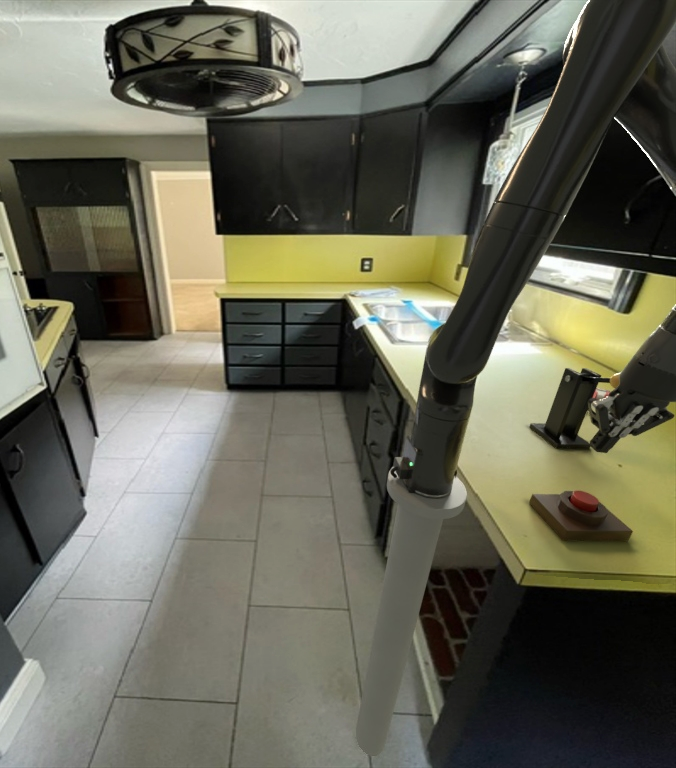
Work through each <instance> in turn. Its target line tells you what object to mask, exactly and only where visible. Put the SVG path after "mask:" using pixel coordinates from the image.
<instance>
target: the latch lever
mask: <svg viewBox="0 0 676 768" xmlns="http://www.w3.org/2000/svg"><path fill="white" fill-rule="evenodd" d="M579 373H580V374H582V373H581V372H579ZM620 373H621V372H617V373H614V374H613V375H611V377H601V378H598V377H590V374H582V375H584V376H583V379H582V381H581V384H590V382H599V383H602V384H609V385H610V386H611V387H612V388H613V389H615V388H616V387H618V385H619V383H620V381H619V375H620Z"/></svg>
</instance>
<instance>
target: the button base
mask: <svg viewBox="0 0 676 768" xmlns="http://www.w3.org/2000/svg"><path fill="white" fill-rule="evenodd" d="M574 491H575V490H564V491H562V492H561V493H532V494H531V497H530V499H529V502H528V503H529V505H530V506H531V507H532V508H533V509H534V510H535V512H536V513H538V515H540V517H541V518H542V519H543V520H544V521H545V522H546V523H547V525H548V526H550V528H551V529H552V530H553V531H554V532H555V533H556V534H557V535H558V536H559V537H560V539H561V540H562V541H599V542H600V541H607V542H609V541H611V542H615V541H618V542H620V541H621V542H623V541H624V542H625V541H626V542H628V541H629V540H630V538H631V536H632V534H633V533H634V530H633V529H632V528H630V526H628V525H627V524H625V523H624V522H623V521H622V520H621V519H620V518H619V517H617V516H616V515H615V514H614V513H613V512H611V510H609V509H608V508H607V507H606V505H604V504H603V503H601V502H600V501H599V504H598V506H597V508H596V510H595V511H594V512H588V511H584V510H581V509H579V508H577V507H575V506H574V505H573V504H572V503H570V498H571V496H572V494H573V492H574Z"/></svg>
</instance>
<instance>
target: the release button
mask: <svg viewBox="0 0 676 768" xmlns="http://www.w3.org/2000/svg"><path fill="white" fill-rule="evenodd" d="M573 491H574V492H573V494H572V496H571V498H570V503H572V504H573V505H574V506H575V507H577V508H579V509H581V510H584V511H588V512H594V511H595V510H596V508H597V506H598V504H599V502H600V500H599V498H597V497H596V496H595V495H593V494H592V493H590V492H587V491H584V490H573Z"/></svg>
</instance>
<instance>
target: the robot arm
mask: <svg viewBox="0 0 676 768" xmlns="http://www.w3.org/2000/svg"><path fill="white" fill-rule="evenodd" d="M675 26H676V0H588V1H587V2H586V4H585V5H584V6H583V8H582V10H581V12H580V13H579V14H578V17H577V18H576V21H575V22H574V24H573V26H572V28H571V29H570V31H569V33H568V34H567V38H566V40H565V44H564V47H563V52H562V65H563V68H562V70H561V72H560V75H559V78H558V80H557V82H556V85H555V87H554V90H553V93H552V96H551V98H550V100H549V102H548V104H547V107H546V109H545V110H544V113H543V114H542V116H541V118H540V120H539V122H538V124H537V126H536V128H534V131H533V132H532V134H531V136H530V137H529V139H528V140H527V142H526V143H525V145H524V147H523V149H522V150H521V152H520V153H519V155H518V156H517V158H516V160H515V161H514V163H513V165H512V166H511V168H510V170H509V172H508V174H507V176H506V177H505V179H504V181H503V183H502V184H501V186H500V188H499V190H498V192H497V194H496V195H495V197H494V200H493V203H492V204H491V207H490V209H489V211H488V213H487V216H486V218H485V221H484V222H483V224H482V226H481V229H480V232H479V234H478V236H477V239H476V242H475V243H474V247H473V251H472V254H471V257H470V260H469V264H468V267H467V271H466V275H465V278H464V282H463V284H462V288H461V291H460V294H459V296H458V298H457V300H456V302H455V304H454V306H453V309H452V310H451V312H450V313H449V315H448V317H447V319H446V320H445V323H443V324H441V325H439V326H438V327H436V329H434V330H433V331H432V333H431V334H430V336H429V338H428V341H427V345H426V349H425V355H424V361H423V365H422V370H421V371H422V372H421V376H420V380H419V388H418V393H417V400H416V407H415V410H414V411H415V412H414V417H413V421H412V427H411V433H410V435H407V436H406V437H405V440H404V441H405V442H404V448H403V453H402V456H394V459H393V465H392V467H394V468H392V467H391V468H392V469H391V468H390V470H391V471H390V470H389V471H390V473H391V475H392V476H393V477H394V478H396V477H397V475H398V477H399V479H402V480H403V483H404V484H405V486H406V488H407V490H408V492H409V493H415V494H418V495H420V496H423V497H426V498H432V499H440V498H444V497H447V496H448V495H449V494H450V493H451V490H452V484H453V480H454V476H455V479H456V477H457V476H458V475H457V474H458V470H457V469H458V468H457V467H458V464H459V461H460V457H461V452H462V449H463V445H464V441H465V437H466V433H467V430H468V426H469V422H470V418H471V414H472V411H473V407H474V399H475V390H476V389H475V388H476V383H477V379H478V376H479V375H480V374H481V373H482V372H483V371H484V370H485V368H486V367H487V364H488V363H489V360H490V357H491V355H492V352H493V349H494V347H495V345H496V342H497V340H498V338H499V335H500V332H501V330H502V328H503V325H504V323H505V321H506V319H507V317H508V314H509V312H510V311H511V309H512V307H513V306H514V304H515V302H516V301H517V299H518V297H519V296H520V295H521V293H522V291H523V290H524V289H525V287H526V285H527V283H528V282H529V281H530V279H531V277H532V275H533V274H534V272H535V270H537V269H536V268H537V267H538V265H539V264H540V262H541V260H542V259H543V257H544V255H545V254H546V252H547V250H548V249H549V247H550V245H551V243H552V242H553V240H554V238H555V237H556V235H557V233H558V231H559V229H560V227H561V226H562V224H563V223H564V220H565V217H567V215H568V213H569V211H570V209H571V207H572V205H573V203H574V201H575V199H576V197H577V195H578V193H579V191H580V189H581V187H582V186H583V183H584V181H585V179H586V177H587V176H588V173H589V171H590V169H591V166H592V165H593V163H594V160H595V159H596V157H597V155H598V152H599V149H600V147H601V145H602V144H603V141H604V139H605V137H606V135H607V133H608V131H609V128H610V127H611V125H612V123H613V122H614V120H616V121H617V122H618V123H619V124H620V125H621V126H622V127H623V128H624V129H625V131H627V133H628V134H629V135H630V136H631V138H632V139H633V140H634V141H635V142H636V143H637V145H638V146H639V147H640V148H641V150H642V151H643V152H644V153H645V154H646V156H647V157H648V158H649V160H650V161H651V163H652V164H653V165H654V167H655V168H656V170H657V171H658V173H659V174H660V175H661V177H662V178H663V179H664V181H665V182H666V184H667V185H668V187H669V189H670V190H671V192H672V193H673V194H674V196H675V197H676V67H675V65H674V64H673V62H672V61H671V59H670V57H669V54H668V53H667V50H666V48H665V46H664V42H665V41H666V40H667V37H668V36H669V34H670V33H671V32H672V31H673V29H674V27H675ZM619 373H620V375H619V381H620V383H619V385H618V387H616V388H613V389H612V390H610V391H611V392H610V393H609V395H608V397H606V398H603V399H600V400H597V399H596V398H591V399H589V400H588V407H589V409H588V411H589V418H590V423H591V424H592V425H593V426H595V427H596V428H597V429H598V430H597V432H596V433H595V434H594V436H593V437H592V438H591V439H590V441H589V443H590V446H591V447H590V448H592V450H593V451H595V452H596V453H601V454H607V453H609V451H610V450H612V449H613V448H614V446H615V445H616V444H617V443H618V442H619V441H620V440H621V439H624V438H626V437H627V436H629V435H632V437H636V436H640V435H642V434H643V433H646V432H648V431H651V429H654V428H655V427H657V426H660V425H662V424H664V423H666V422H668V421H670V420H672V419H674V418H675V414H674V413H672V412H671V411H670V410H668V408H667V407H668V406H669V404H671V403H676V304H675V305H674V306H673V307H672V308H671V310H670V311H669V313H668V314H666V316H665V317H664V319H663V320H662V321H661V323H660V324H659V325H658V326H657V327H656V328H655V329H654V331H653V332H651V333H650V334H649V336H648V337H647V338H646V339H644V341H643V343H642V344H641V345H640V347H639V348H638V349H637V351H636V352H635V353H634V355H633V356H632V357H631V358H630V359H629V361H628V363H626V365H625V367H624V368H623V369H622V370H621V372H619ZM395 471H396V473H397V475H396V474H395V473H394V472H395Z"/></svg>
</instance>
